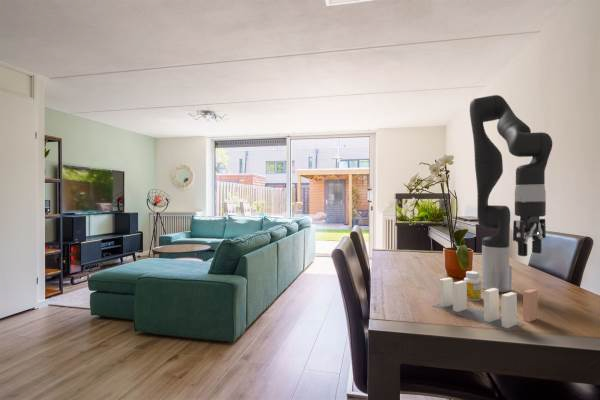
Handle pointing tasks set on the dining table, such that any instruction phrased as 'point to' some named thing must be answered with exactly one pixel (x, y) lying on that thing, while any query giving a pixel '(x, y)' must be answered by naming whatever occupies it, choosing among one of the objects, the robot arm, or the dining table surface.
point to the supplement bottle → (473, 285)
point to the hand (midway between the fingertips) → (529, 254)
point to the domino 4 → (509, 309)
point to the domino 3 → (491, 304)
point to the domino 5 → (529, 305)
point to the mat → (478, 317)
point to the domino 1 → (445, 292)
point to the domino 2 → (459, 296)
